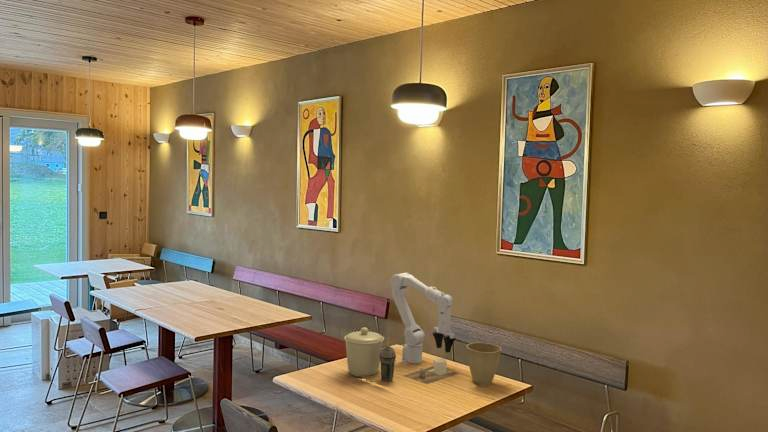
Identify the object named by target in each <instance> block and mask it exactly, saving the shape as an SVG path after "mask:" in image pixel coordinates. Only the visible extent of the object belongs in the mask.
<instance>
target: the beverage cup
mask: <svg viewBox="0 0 768 432" xmlns="http://www.w3.org/2000/svg"><path fill="white" fill-rule="evenodd" d="M389 339H390V338H389V336H387V339H386V342H387V343H386V346H384V347H382V350H381V352H380V355H379V357H380V373H381V374H380V376H381V381H382V382H386V383H387V382H388V383H389V382H392V381H393V379H394V370H395V363H396V358H397V353H396V351H395V349H394V348H393V347H391V346H389V344H390V343H389Z"/></svg>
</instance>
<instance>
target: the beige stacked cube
mask: <svg viewBox="0 0 768 432" xmlns="http://www.w3.org/2000/svg"><path fill="white" fill-rule="evenodd" d="M432 365H433V370H434V371H435V373H446V369H447V360H446V358H433V364H432ZM447 370H448V369H447Z"/></svg>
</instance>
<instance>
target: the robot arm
mask: <svg viewBox="0 0 768 432" xmlns="http://www.w3.org/2000/svg"><path fill="white" fill-rule="evenodd" d="M389 284H390V285H391V296H392V298H393V301H394V304H395V306H396V308H397V310H398V313H399V315H400V317H401V318H400V319H401V320H402V323H403V325H404V327H405V329H404V332H403V335H404V341H405V344H403V346H402V352H401V353H402V354H401V356H402V357H401V361H400V363H409V364H421V363H422V362H423V344H424V343H423V342H424V341H425V340H426V333H425V332H424V331H423V329H422V328H421V326H420V325H419V324H417V323H416V321H415V318H414V316H413V314H412V311H411V309H410V306H409V303H408V302H407V298H406V296H405V291H406V289H407V288H408V287H412V288H413V289H414V288H415V289H416V290H418V291H420V292H422V293H424V297H425V298H426V299H428V300H430V301H432V302H433V303H435V304H436V306H437V309H438V311H437V312H438V315H437V317H438V319H437V323H438V324H437V326H434V327H433V331H434V332H432V336H433V338H434V342H435V345H436V349H441V348H442V346H443V342H444V350H445V353H446V354H447V353H451V351H452V348H453V345H454V343H455V341H456V337H455V333H454V332H453V331H452V330H451V322H452V320H451V319H452V318H451V317H452V314H451V313H452V305H454V298H453V296H452V295H450V294H448V293H446V294H445V292H443V291H440V290H438V288H437V287H436V286H428V285H426V284H424V283H423V282H422V281H420V280H419V279H418V278H417V277H415V276H414V275H412V274H410V273H409V272H406V271H404V272H403V273H395V274H393V275H392V276H391V279H390V281H389Z"/></svg>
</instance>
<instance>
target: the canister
mask: <svg viewBox="0 0 768 432" xmlns="http://www.w3.org/2000/svg"><path fill="white" fill-rule="evenodd" d="M343 339H344V341H345V350H346V351H345V352H346V360H347V361H346V362H347V363H346V364H347V369H348V372H349V374H350V375H352V376H354V377H359V378H361V377H364V376H365V377H368V376H373V375H377V373H379V370H380V369H379V368H380V365H381V362H380V357H379V355H380V352H381V350H382V349H383V342H384V340H385V337H384V336H383V335H381V334H380V333H377V332H374V331H370V330H369V329H368V328H367V327H365V326H364V327H362V328H360V331H352V332H350V333H348V334H346V335H345V336H344V337H343Z"/></svg>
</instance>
